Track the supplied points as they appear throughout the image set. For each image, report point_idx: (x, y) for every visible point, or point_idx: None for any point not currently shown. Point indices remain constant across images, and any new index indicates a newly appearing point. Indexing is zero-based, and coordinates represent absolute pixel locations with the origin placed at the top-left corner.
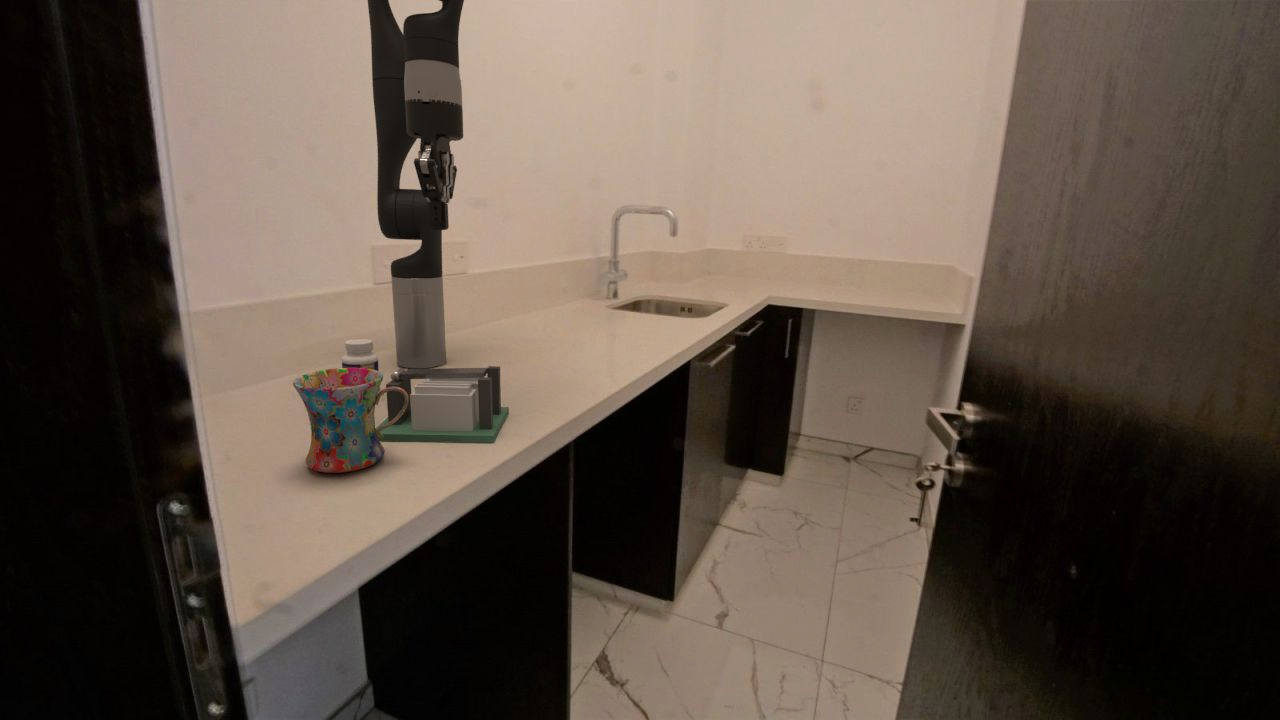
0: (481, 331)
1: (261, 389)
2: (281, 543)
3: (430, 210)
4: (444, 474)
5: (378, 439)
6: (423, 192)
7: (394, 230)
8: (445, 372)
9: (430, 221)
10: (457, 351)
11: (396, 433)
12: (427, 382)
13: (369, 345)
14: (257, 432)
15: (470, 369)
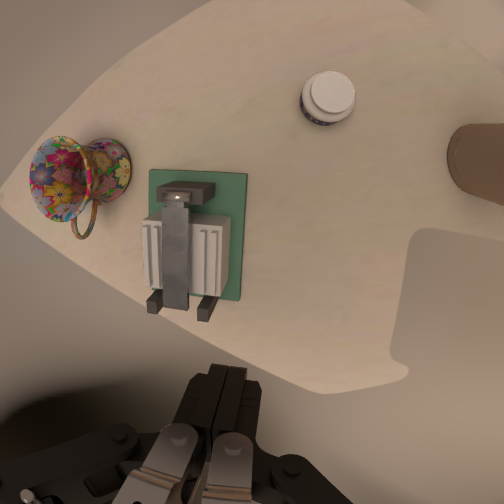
0: None
1: None
2: (22, 183)
3: (197, 405)
4: (94, 254)
5: (103, 198)
6: (99, 433)
7: None
8: (166, 262)
9: (208, 376)
10: None
11: (150, 197)
12: (192, 228)
13: (324, 111)
14: (178, 48)
15: (179, 291)
